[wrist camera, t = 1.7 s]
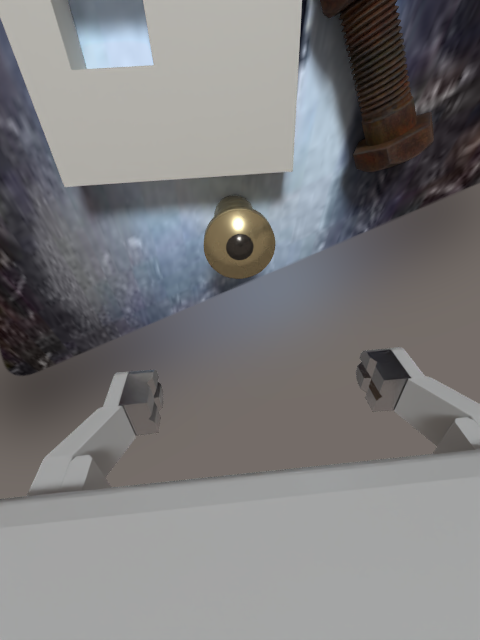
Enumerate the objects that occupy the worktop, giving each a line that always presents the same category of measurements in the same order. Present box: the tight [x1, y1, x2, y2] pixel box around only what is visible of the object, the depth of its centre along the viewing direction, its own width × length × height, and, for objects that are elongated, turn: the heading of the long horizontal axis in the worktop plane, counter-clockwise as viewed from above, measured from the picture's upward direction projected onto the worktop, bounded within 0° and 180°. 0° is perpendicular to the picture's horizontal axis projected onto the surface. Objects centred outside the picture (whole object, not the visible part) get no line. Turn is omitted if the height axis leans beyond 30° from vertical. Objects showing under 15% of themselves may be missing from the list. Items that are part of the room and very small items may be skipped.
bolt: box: [320, 0, 433, 172], centre depth 19 cm, size 6×5×15 cm
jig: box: [0, 0, 302, 187], centre depth 17 cm, size 17×18×6 cm
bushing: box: [204, 195, 275, 279], centre depth 24 cm, size 5×5×7 cm
